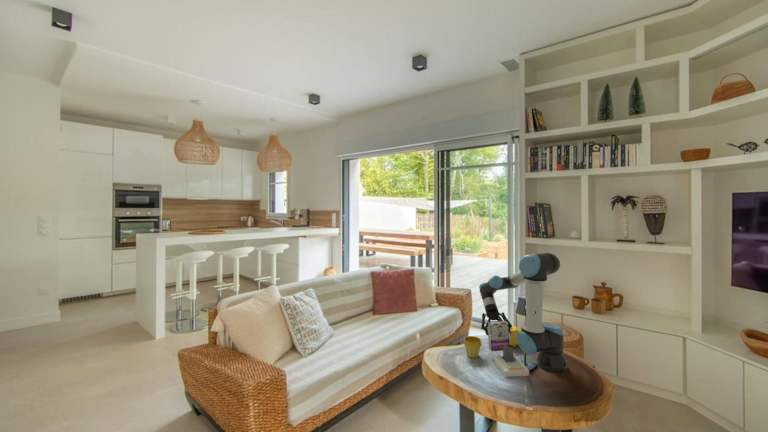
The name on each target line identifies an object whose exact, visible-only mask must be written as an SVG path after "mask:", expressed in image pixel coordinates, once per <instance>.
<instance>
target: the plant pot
mask: <svg viewBox="0 0 768 432" xmlns="http://www.w3.org/2000/svg"><path fill="white" fill-rule="evenodd" d="M463 345H464V347H465V352H466V355H467V356H468V357H470V358H474V359H475V358H478V357H479V355H480V350H481V347H482V339H481V338H480V337H478V336H473V335H469V336H465V337H464V338H463Z"/></svg>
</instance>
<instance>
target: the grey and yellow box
mask: <svg viewBox="0 0 768 432" xmlns="http://www.w3.org/2000/svg"><path fill="white" fill-rule="evenodd" d="M510 331H511V334H510V335H511V340H509V346H511V347H512V346H513V347H512V348H517V345H518V343H517V339H516V336H517V333H518V332H521V329H518V327H516V326H515V325H512V327H511V328H510ZM518 346H519V345H518Z"/></svg>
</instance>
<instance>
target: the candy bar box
mask: <svg viewBox="0 0 768 432" xmlns="http://www.w3.org/2000/svg"><path fill="white" fill-rule="evenodd" d="M487 322H488V321H487ZM487 329H489V331H490V335H491V339H492V340H491V341H489V338H488V337H487V339H488V349H489V350H490V351H491V352H498V351H499V352H501V351H502V352H503V347H510V345H509V323H508V322H506V321H504V320H503V321H497V320H493V321H492V320H490V322H488V328H487Z"/></svg>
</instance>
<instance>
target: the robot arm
mask: <svg viewBox="0 0 768 432" xmlns="http://www.w3.org/2000/svg"><path fill="white" fill-rule="evenodd" d="M560 268H561V260H560V259H559V257H558V256H556V254H553V253H550V252H541V253H530V254H526V255H524V256H523V257H521V259H520V260H519V263H518V269H519V271H517V272H515V273H513V274H511V275H509V276H505V277H500V276H499V275H493V276H492V277H490V278H489V279H488V281H487V282H482V283H481V284H480V285H478V289H479V294H480V296H481V300H482V303H483V307H484V311H485V313H484V312H483V313H482V314H481V318H482V319H481V326H480V327H481V330H484V333H485V336H487V339H488V338H489V341H491V340H492V339H491V335H490V331H489V329H488V322H491V321H506V322H508V323H509V340H511V335H510V334H511V331H510V328H511V327H512V326H513V325H512V323H511V322H510V320H509V319H508V318H507V316H506V315H505V312H504V311H502V312H501V313H500V312H499V308H498V305H497V302H496V300H495V295H494V294H495V293H496V292H497V291H502V290H508V289H509V290H510V289H515V288H519V286H521V285H523V284H525V301H526V305H524V306H525V307H524V308H525V309H526V314H527V315H526V316H525V315H524V323H523V324H521V329H520V330H521V332H518V333H517V336H516V339H517V343H518V347H519V348H520V350H522V351H523V352H524V353H525V354H527V355H528V354H529V355H530V354H537V353H538V354H537V357H536V364H537V366H538V367H539V368H540V369H543V370H545V371H548V372H552V373H563V372H566V371H567V368H568V365H567V363H568V362H567V361H566V358H565V355H564V329H563V328H562V327H561V326H559V325H556V324H554V323H550V322H543V307H544V304H543V303H544V288H545V287H544V286H545V285H544V284H545V283H546V282H547V281H548V276H549V275H553V274H556V273H557V272H558V271H559V270H560ZM532 298H533V299H532ZM525 309H524V310H525ZM535 311H536V314H535ZM533 315H534V316H533ZM486 317H487V318H488V320H487V322H486ZM485 323H486V324H485ZM489 341H488V342H489Z"/></svg>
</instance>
